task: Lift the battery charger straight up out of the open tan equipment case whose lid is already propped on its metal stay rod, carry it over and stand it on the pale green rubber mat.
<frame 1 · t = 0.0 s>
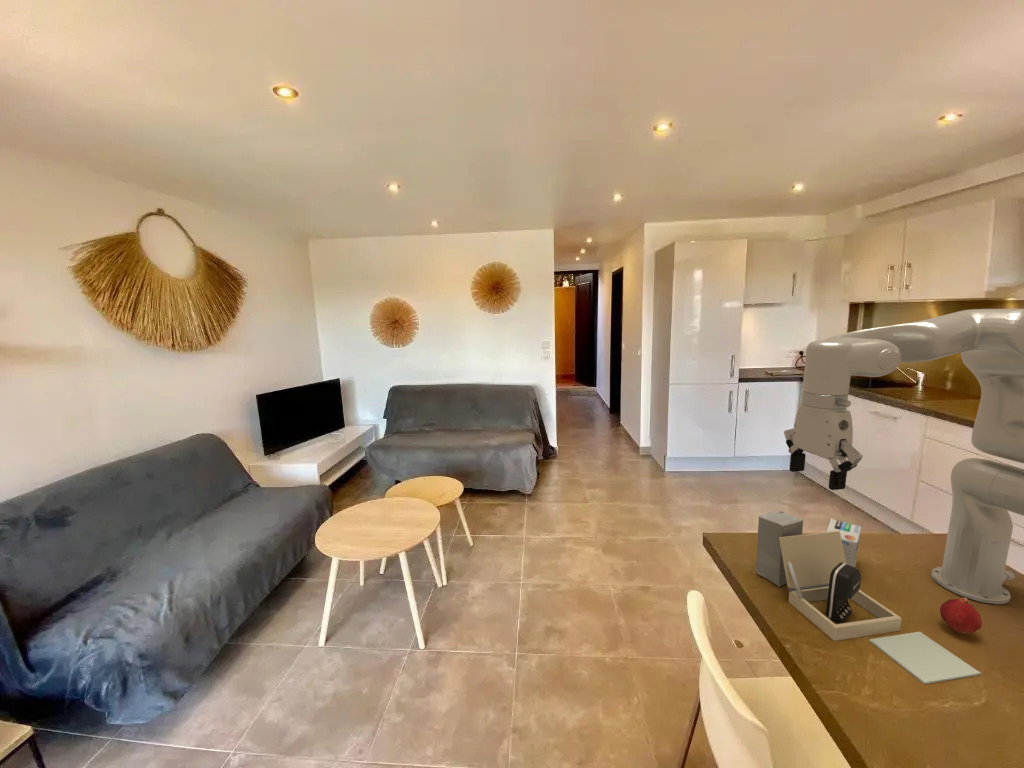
hand: (815, 479, 86), 31 cm above the table, fingers open, 9 cm apart
skincare box: (776, 575, 104), on the table
light bulb box: (838, 568, 106), on the table
case: (841, 615, 90), on the table
battery charger: (841, 616, 90), resting in case
red fruit: (957, 632, 84), on the table
mat: (921, 657, 79), on the table
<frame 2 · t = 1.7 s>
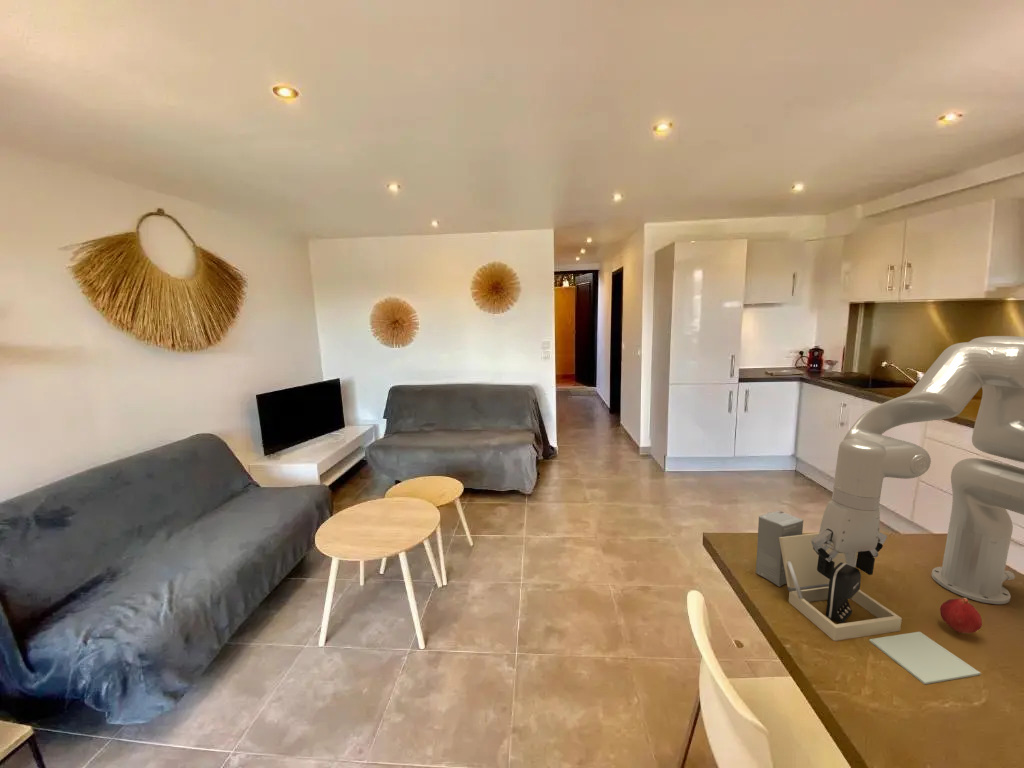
hand: (844, 572, 88), 11 cm above the table, fingers open, 9 cm apart
nothing on the table moved.
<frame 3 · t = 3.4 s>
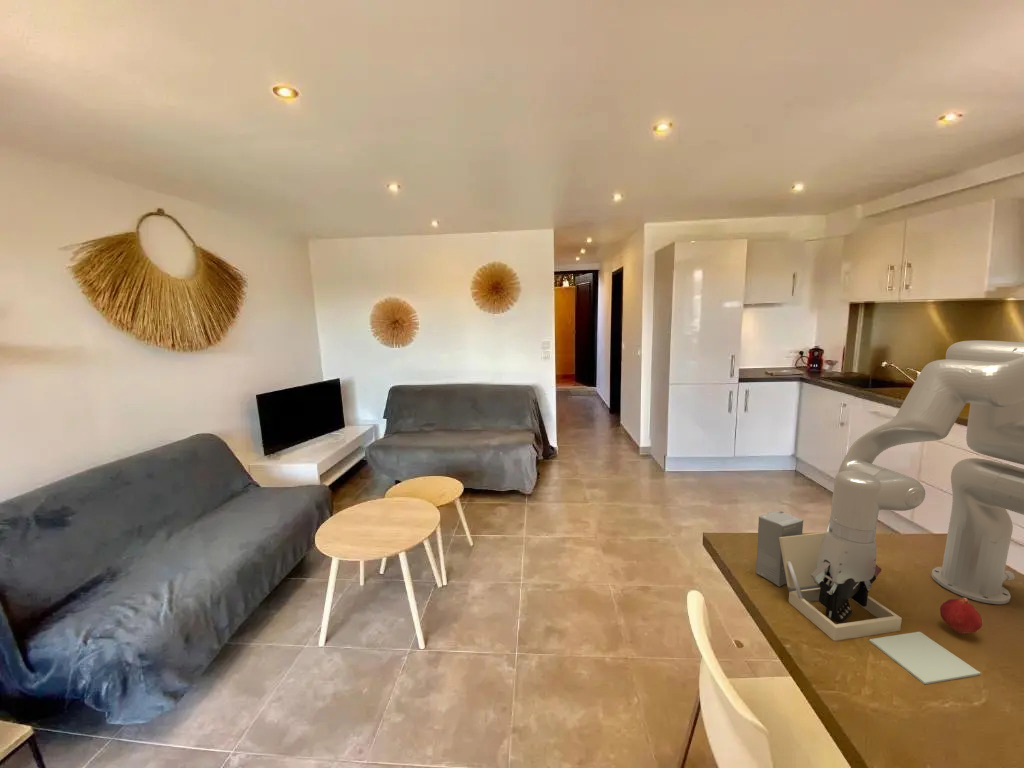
hand: (842, 603, 89), 3 cm above the table, fingers closed on battery charger, 7 cm apart
battery charger: (841, 616, 90), resting in case, touching gripper
everything else where it was.
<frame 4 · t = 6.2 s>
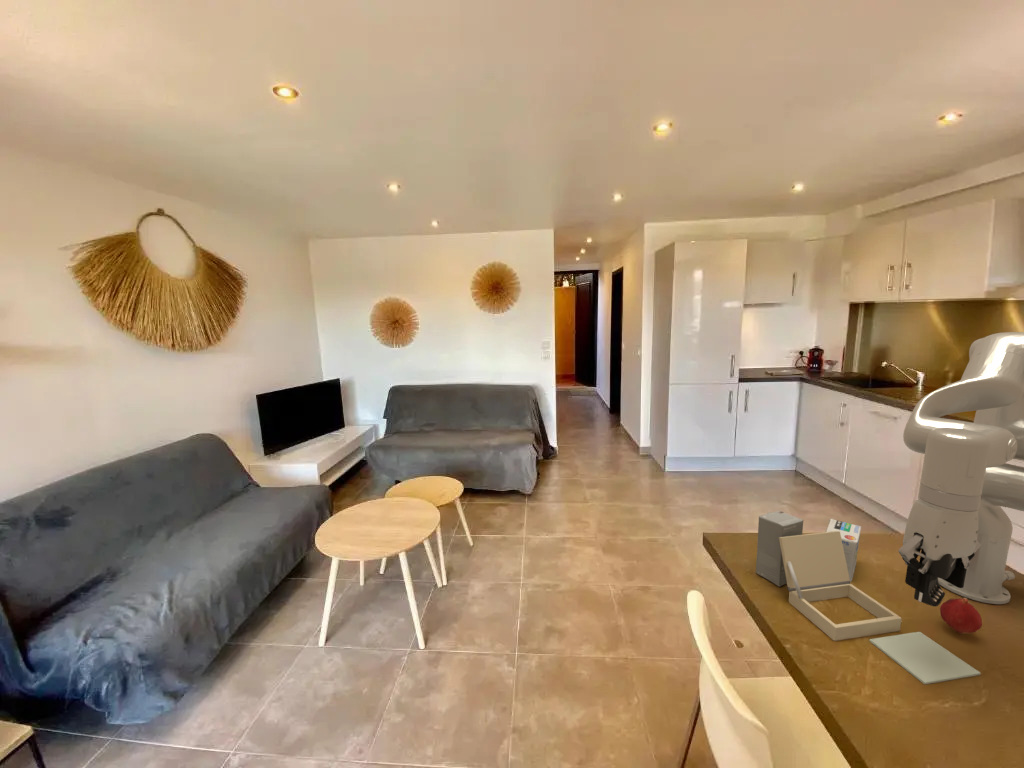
hand: (933, 585, 76), 15 cm above the table, fingers closed on battery charger, 7 cm apart
battery charger: (931, 600, 77), point 12 cm above the table, touching gripper
everything else where it was.
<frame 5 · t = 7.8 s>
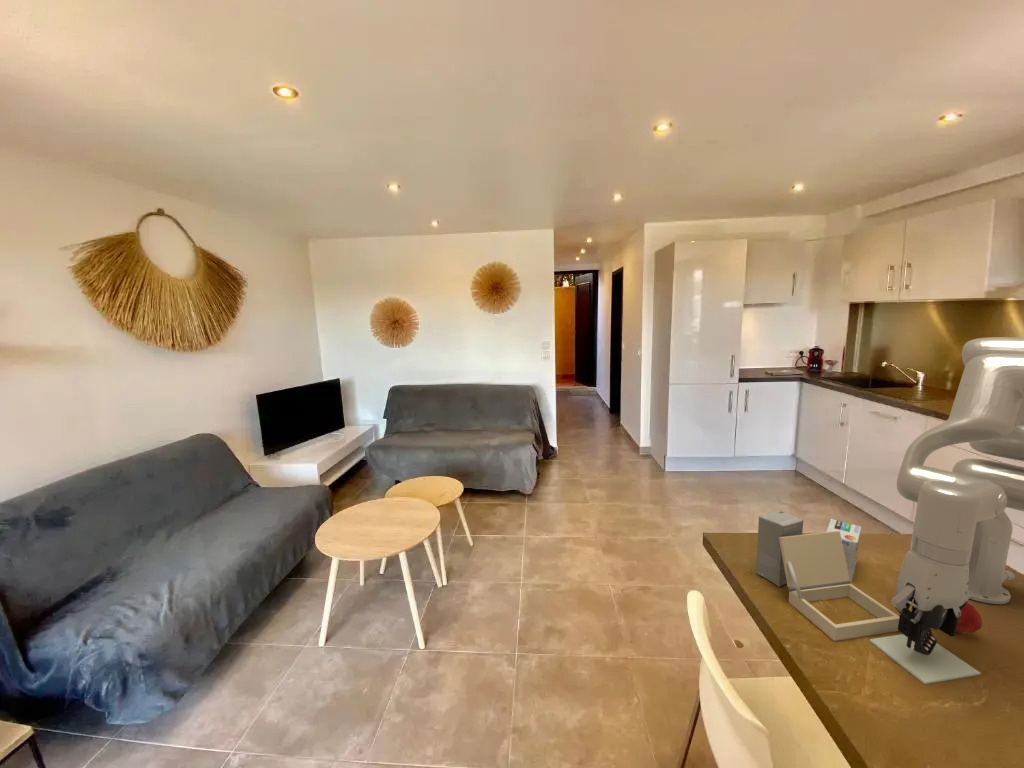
hand: (925, 633, 78), 5 cm above the table, fingers closed on battery charger, 7 cm apart
battery charger: (924, 647, 78), point 2 cm above the table, touching gripper
everything else where it was.
when the fingers open (4 cm above the table, at t = 9.1 s): battery charger stays where it is, resting on mat.
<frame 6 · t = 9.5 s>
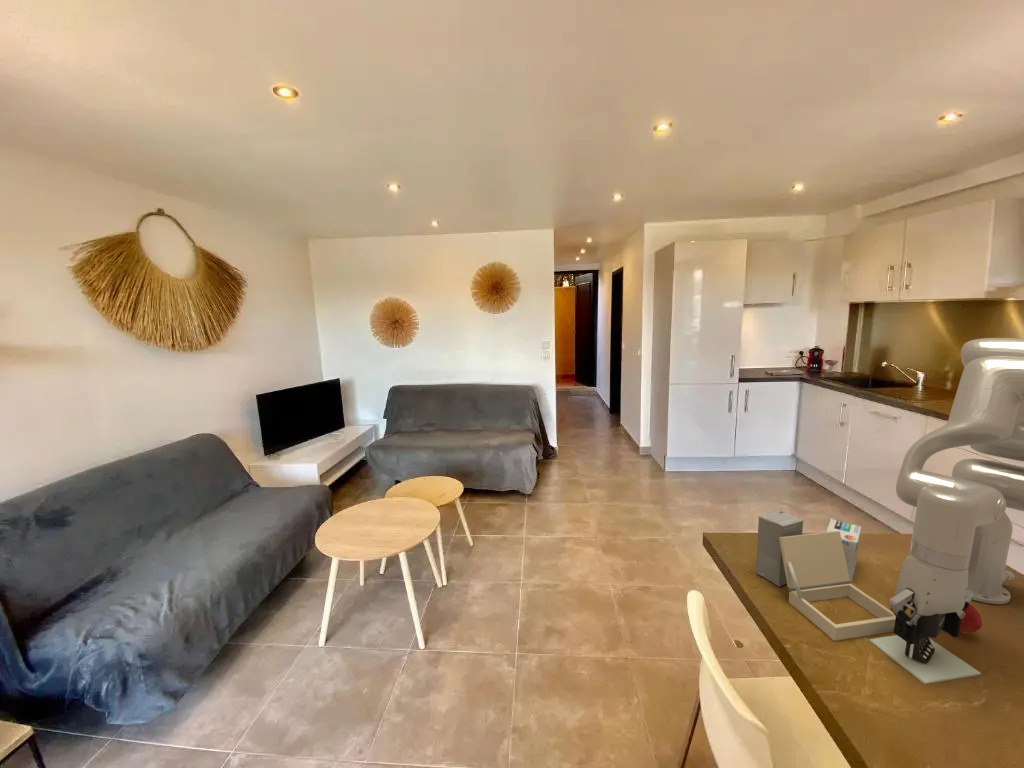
hand: (925, 635, 78), 5 cm above the table, fingers open, 9 cm apart
battery charger: (922, 655, 79), resting on mat
everything else where it was.
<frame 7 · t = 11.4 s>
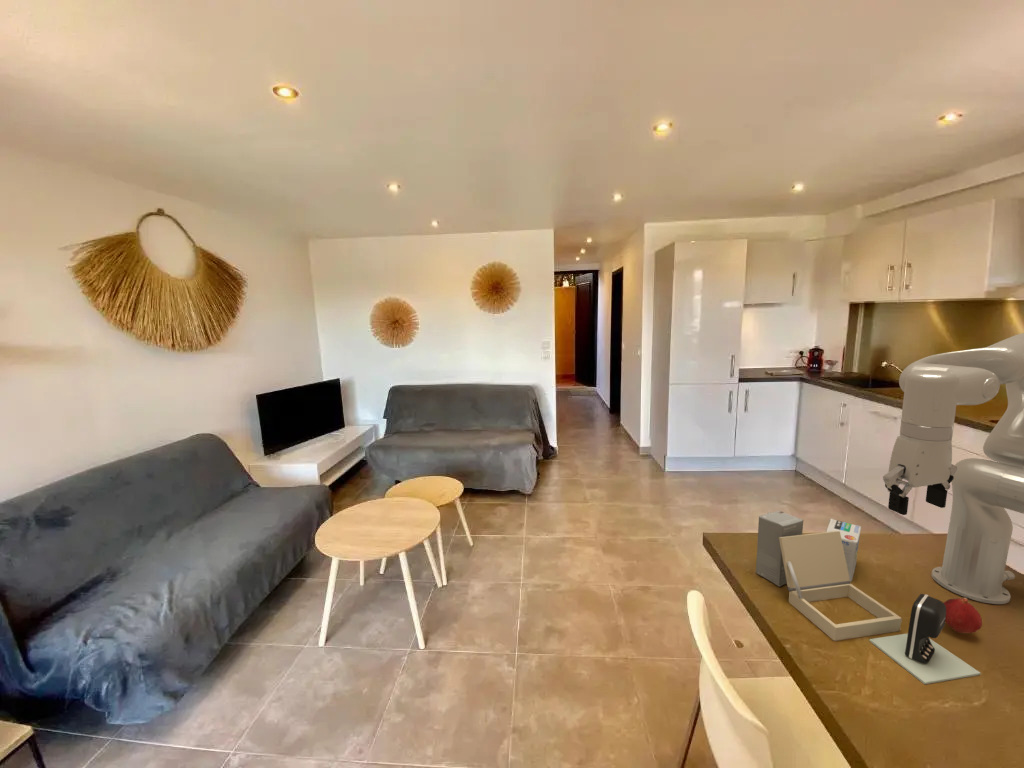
hand: (916, 508, 86), 25 cm above the table, fingers open, 9 cm apart
nothing on the table moved.
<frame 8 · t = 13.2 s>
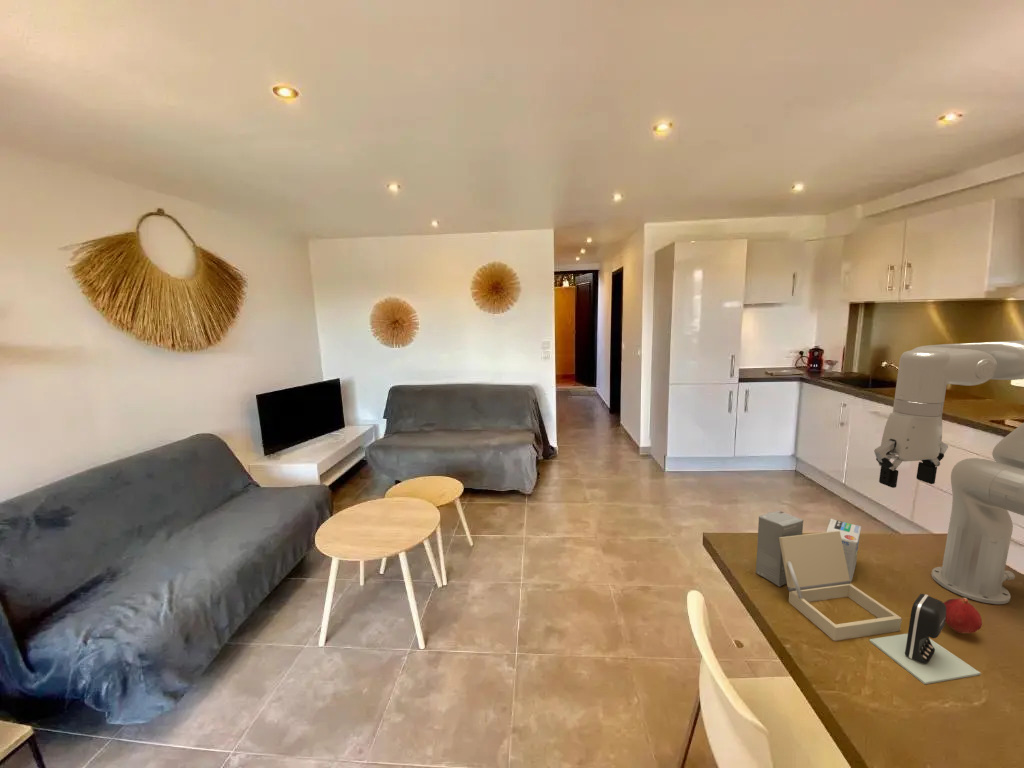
hand: (906, 483, 90), 28 cm above the table, fingers open, 9 cm apart
nothing on the table moved.
at the end: battery charger inside the target area on the mat (0.2 cm from its centre), point 0.2 cm above the mat's base; battery charger tilted 0°; the gripper is holding nothing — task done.
